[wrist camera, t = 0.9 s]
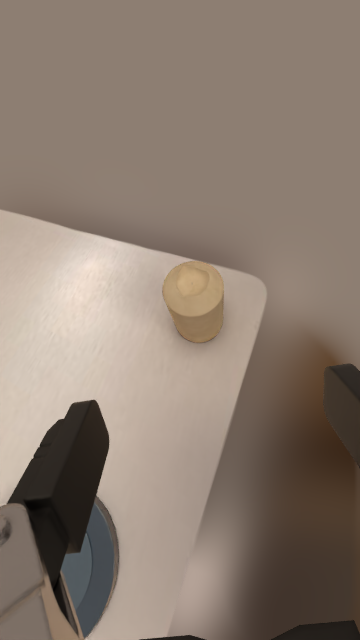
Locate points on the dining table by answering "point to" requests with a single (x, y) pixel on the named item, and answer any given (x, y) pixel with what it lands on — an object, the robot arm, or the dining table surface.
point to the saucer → (93, 569)
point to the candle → (195, 300)
